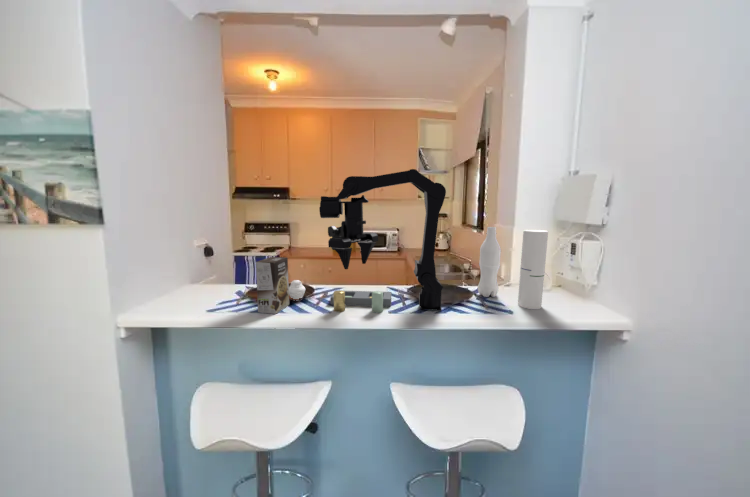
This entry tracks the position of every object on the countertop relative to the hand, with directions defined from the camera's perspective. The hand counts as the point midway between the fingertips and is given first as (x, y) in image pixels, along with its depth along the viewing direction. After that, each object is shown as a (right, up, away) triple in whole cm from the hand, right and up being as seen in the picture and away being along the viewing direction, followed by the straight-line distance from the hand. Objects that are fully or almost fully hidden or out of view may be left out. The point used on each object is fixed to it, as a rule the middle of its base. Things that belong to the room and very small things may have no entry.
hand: (355, 266), depth 103 cm
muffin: (-21, -12, +9) cm, 26 cm away
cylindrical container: (+58, -13, +4) cm, 59 cm away
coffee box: (-26, -14, 0) cm, 29 cm away
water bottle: (+48, -12, +15) cm, 51 cm away
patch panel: (+2, -12, +7) cm, 14 cm away
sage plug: (+7, -14, -2) cm, 16 cm away
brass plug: (-5, -14, -1) cm, 15 cm away
